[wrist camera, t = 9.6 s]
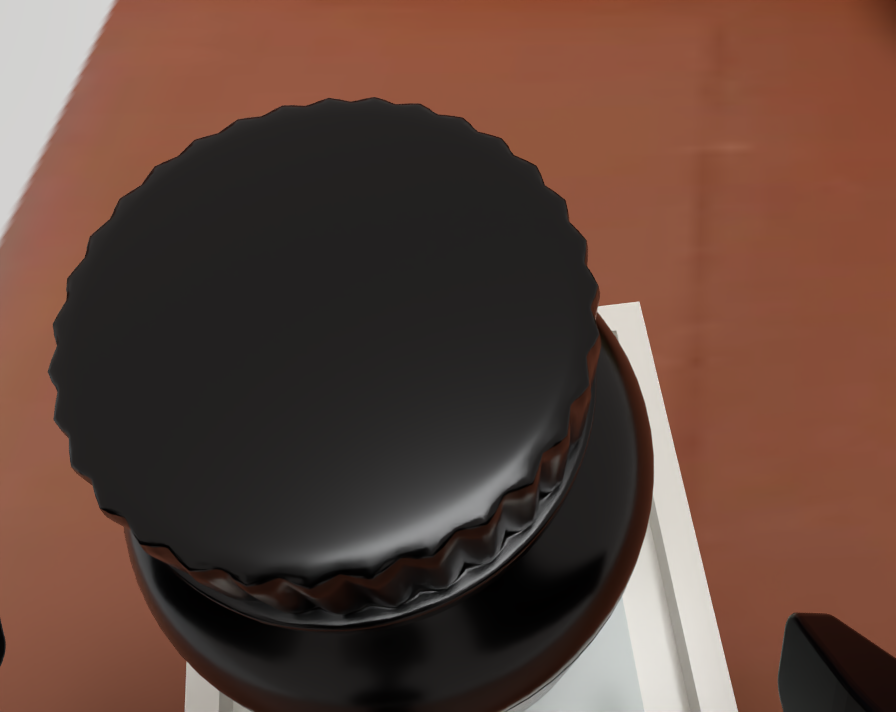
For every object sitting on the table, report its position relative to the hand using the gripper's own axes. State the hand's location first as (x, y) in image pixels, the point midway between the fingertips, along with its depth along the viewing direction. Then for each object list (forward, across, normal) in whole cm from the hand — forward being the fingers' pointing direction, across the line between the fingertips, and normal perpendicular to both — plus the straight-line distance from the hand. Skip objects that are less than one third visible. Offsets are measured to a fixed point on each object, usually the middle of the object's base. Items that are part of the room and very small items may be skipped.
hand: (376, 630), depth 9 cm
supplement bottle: (+8, 0, +4) cm, 9 cm away
